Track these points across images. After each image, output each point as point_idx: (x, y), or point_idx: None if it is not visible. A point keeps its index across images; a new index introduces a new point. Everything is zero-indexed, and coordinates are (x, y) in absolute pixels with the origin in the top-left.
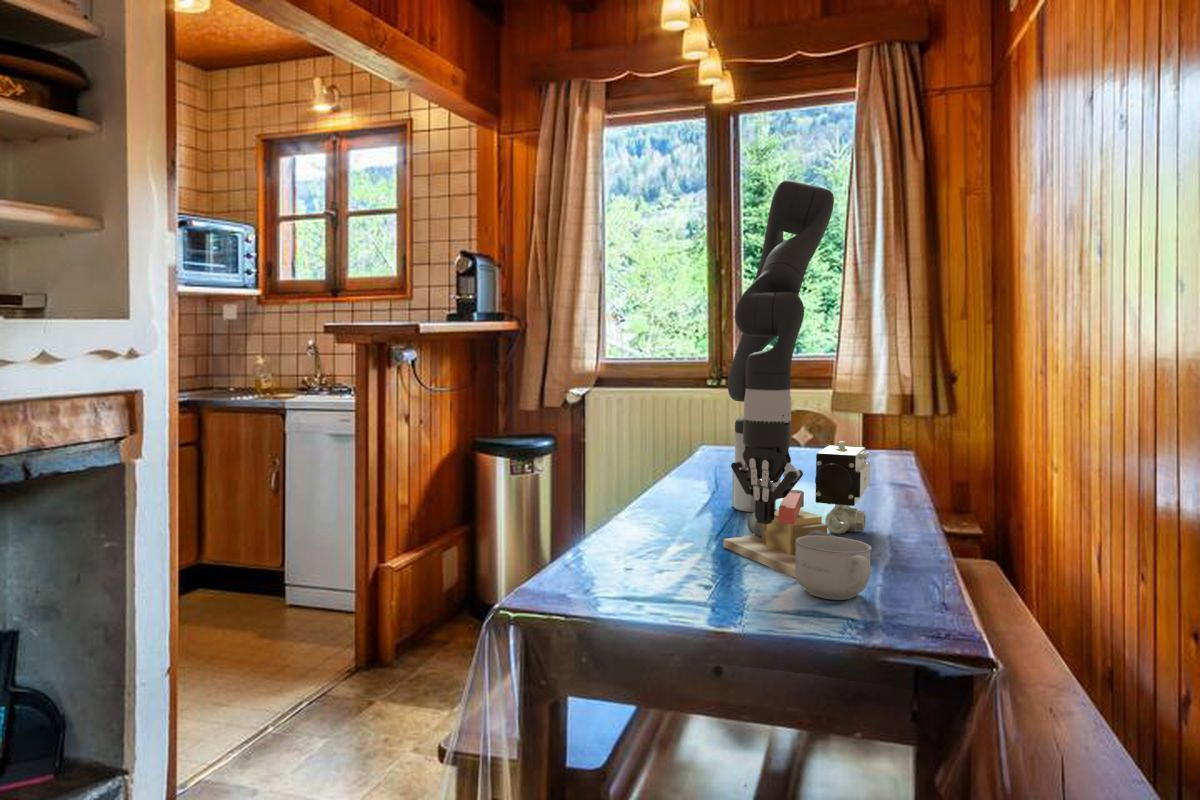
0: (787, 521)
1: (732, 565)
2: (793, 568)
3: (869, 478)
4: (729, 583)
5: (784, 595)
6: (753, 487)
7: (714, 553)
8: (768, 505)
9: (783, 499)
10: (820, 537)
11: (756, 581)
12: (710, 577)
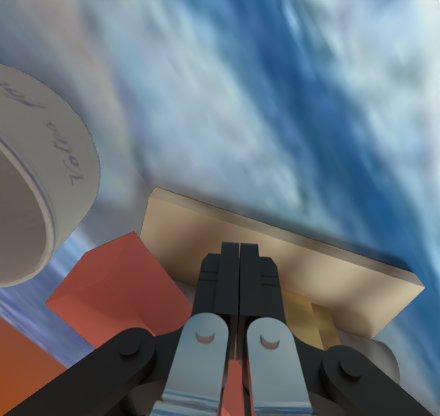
0: (99, 249)
1: (327, 173)
2: (164, 200)
3: None
4: (248, 23)
5: (85, 52)
6: (307, 399)
7: (414, 223)
8: (200, 306)
9: None
10: (41, 256)
11: (206, 101)
12: (325, 29)
